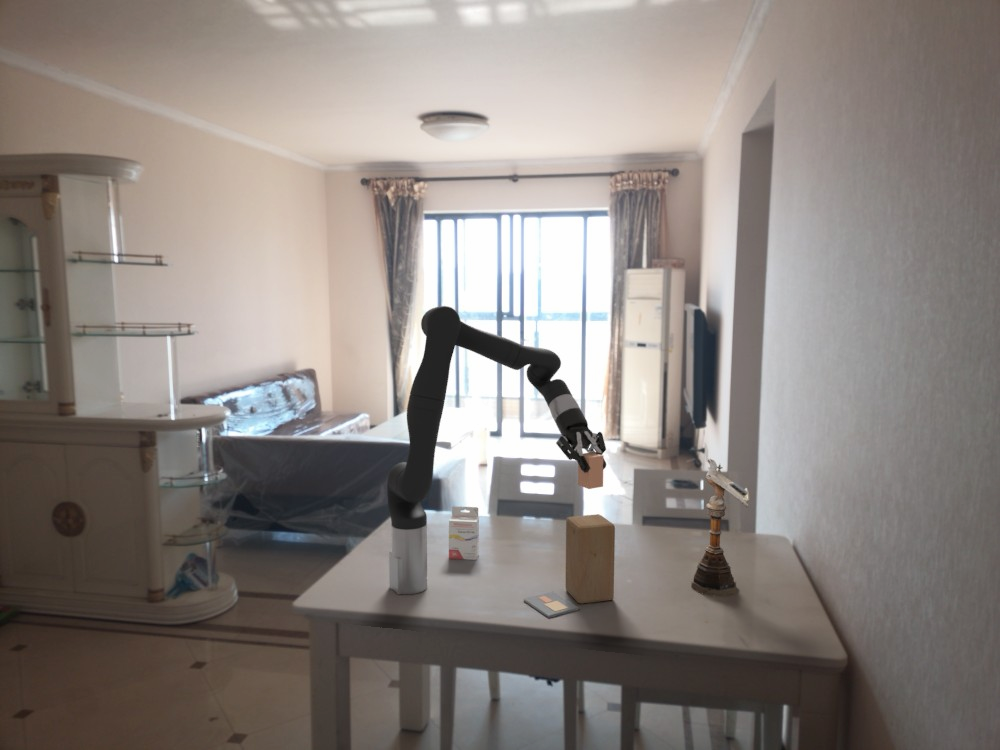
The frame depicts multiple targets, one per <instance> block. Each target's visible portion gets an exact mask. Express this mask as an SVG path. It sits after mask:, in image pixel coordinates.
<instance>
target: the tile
mask: <svg viewBox="0 0 1000 750" xmlns="http://www.w3.org/2000/svg"><path fill="white" fill-rule="evenodd" d="M523 602H525V603H526V604H528V605H529V606H530V607H531V608H533V609H535V611H537V612H539V613H540V614H542V615H544V616H545V617H546V618H548V619H550V618H553V617H556V616H557V617H558V616H560V615H564V614H568V613H571V612H574V611H578V610H580V609H579V606H577V605H575V604H574V603H573V602H571V601H569V600H567V599H566V598H564V597H563V596H561V595H560V594H558V593H557V592H555V591H549V592H546V593H542V594H538V595H534V596H530V597H526V598H523Z"/></svg>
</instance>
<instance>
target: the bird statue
mask: <svg viewBox="0 0 1000 750" xmlns="http://www.w3.org/2000/svg"><path fill="white" fill-rule="evenodd" d="M707 463H708V464H709V466H708V467H707V469H708V471H707V473H706V475H705V479H706V481H707V483H708V484H709V485H711V486H712V487H713V488H714V492H715V493H714V495H713V496H711V497H710V499H709V501H708V503H706V505H705V506H706V508H707V512H706V513H707V515H708V516H710V517H709V518H710V529H709V530H708V532H709V535H710V537H709V545H707V546H706V548H705V549H704V551H705V553H704V555H703V556H702V558H700V560H699V562H698V564H697V567H696V568H697V569H696V571H695V573H694V575H693V577H692V580H691V586H690V587H691V589H693V588H694V589H693V590H695V591H697V592H698V591H699V592H698V593H700V592H701V593H700V594H702V593H703V594H702V595H706V594H710V595H709V596H713V595H715V596H714V597H719V596H721V597H726V596H731V594H732V595H735V594H736V589H737V581H736V580H735V579H734V576H733V574H732V570H731V568H732V567H731V566H730V565H729V562H727V559H726V556H725V555H724V549H723V548H722V547H721V545H720V544H721V542H720V541H721V535H722V531H721V526H722V525H721V522H722V518H723V517H724V516H725V515H726V512H725V511H726V509H727V505H726V504H725V499H724V496H725V491H727V493H730V495H732V496H733V497H734V498H736V499H737V500H738V501H739V502H740V503H741V504H743V506H745V507H746V508H749V502H750V500H751V499H750V492H749V488H748V487H745V488H743V487H742V486H741V485H739V484H737V483H736V482H735V481H732V480H730V479H729V478H728V477H726V476H725V475H723V473H722V470H721V469H723V466H722V465H721V463H719V464H718V465H717V463H716V461H715V460H714V459H711V458H708V459H707Z"/></svg>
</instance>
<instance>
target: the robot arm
mask: <svg viewBox="0 0 1000 750" xmlns="http://www.w3.org/2000/svg"><path fill="white" fill-rule="evenodd" d="M420 328H421V330H422V332H423V334H424V335H425V336H426V337H425V346H424V352H423V357H422V360H421V363H420V364H419V368H418V369H417V372H416V374H415V377H414V379H413V382H412V385H411V388H410V391H409V397H408V402H407V408H406V423H407V431H408V436H409V437H408V440H409V448H408V455H407V460H406V461H403V462H399V463H397V464H395V465H393V467H392V468H391V469H390V470H389V473H388V476H387V481H386V482H387V483H386V491H387V492H386V494H387V495H386V496H387V508H388V514H389V516H390V522H391V551H389V553H388V554H389V555H388V563H389V564H388V567H389V569H388V571H389V572H388V573H389V574H388V575H389V578H388V579H389V581H388V582H389V588H390V589H392V590H393V592H395V594H397V595H403V594H404V595H412V594H413V595H415V594H418V593H422V592H423V591H425V590H427V588H428V535H427V534H428V530H427V529H428V526H427V523H428V522H427V520H428V518H427V517H428V515H427V513H426V511H425V510H424V508H423V505H422V503H421V502H422V501H424V500H425V499H426V497H427V496H428V495H429V493H430V491H431V488H432V484H433V477H434V476H433V475H434V465H435V452H436V446H437V442H438V437H439V432H440V431H439V430H440V424H441V419H442V416H443V410H444V406H445V401H446V395H447V388H448V383H449V375H450V367H451V362H452V357H453V354H454V351H455V347H456V346H457V347H460V348H463V349H466V350H468V351H471V352H474V353H476V354H478V355H480V356H481V357H484V358H487V359H489V360H491V361H493V362H495V363H497V364H500V365H503V366H505V367H507V368H510V369H512V370H515V371H518V370H519V371H520V370H521V369H523V368H524V367H526V366H528V365H529V366H528V367H527V368H526V377H527V380H528V382H529V383H530V384H531V385H532V386H533V387H534V388H535V389H536V391H538V392H539V394H541V396H542V397H543V398H544V400H545V402H546V405H547V407H548V409H549V411H550V414H551V416H552V418H553V420H554V422H555V425H556V427H557V429H558V431H559V432H560V434H561V435H560V437H559V438H558V440H557V441H556V442H555V443H556V445H557V447H558V448H559V449H560V450H561V451H562V453H563V454H564V455H565V457H566V458H567V459H568V460H570V461H571V460H575V461H576V462H577V463H578V464H579V466H580V468H581V470H582V471H584V473H586V472H588V471H589V470H590V466H589V465H588V463H587V461H586V459H585V457H584V456H583V454H584V452H583V450H585V451H586V453H591V452H593V453H596V454H600V455H603V454H604V453H605V452H606V451H607V447H606V443H605V440H604V439H605V438H604V435H603V433H602V432H601V431H599V432H597V433H594V432H593V431H592V430H590V428H589V425H588V421H587V419H586V416H585V415H584V413H583V411H582V409H581V407H580V406H579V404H578V402H577V401H576V399H575V398H574V395H573V394H572V393H571V391H570V389H569V387H568V385H567V383H566V382H565V381H564V380H563V379H561V378H559V379H553V380H552V378H553V377H554V376H555V375H556V374H557V372H558V371H559V370H560V368H561V365H562V362H561V358H560V357H559V355H557V354H556V353H555V351H553V350H550V349H547V348H542V347H535V346H527V345H523V344H520V343H518V342H516V341H514V340H511V339H510V338H506V337H503V336H501V335H498V334H494V333H491V332H488V331H484V330H481V329H479V328H476V327H474V326H471V325H468V324H467V323H465V322H463V321H461V317H460V315H459V314H458V312H457V311H456V309H455V308H453V307H452V306H447V305H439V306H437V307H436V306H435V307H433V308H430V309H429V310H427V311H426V312H425V313H424V314H423V316H422V318H421V321H420ZM578 464H577V465H578ZM606 468H607V463H606V461H605V458H604V457H603V471H604V469H606Z"/></svg>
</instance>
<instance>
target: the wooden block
mask: <svg viewBox="0 0 1000 750" xmlns="http://www.w3.org/2000/svg"><path fill="white" fill-rule="evenodd" d="M615 532H616V528H615V524H614V523H612V522H611V521H610V520H609V519H607V518H605V516H602V515H601V514H586V515H575V516H568V517H566V521H565V590H566V591H567V592H568V593H569V595H570V596H571V597H572V598H573V599H574V600H575V602H577V603H578V604H589V603H596V602H597V603H598V602H606V601H612V600H614V596H615V595H614V594H615V592H614V591H615V588H614V587H615V552H616V551H615V548H616V547H615V546H616V545H615V543H616V541H615V539H616V538H615V537H616V533H615Z"/></svg>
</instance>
